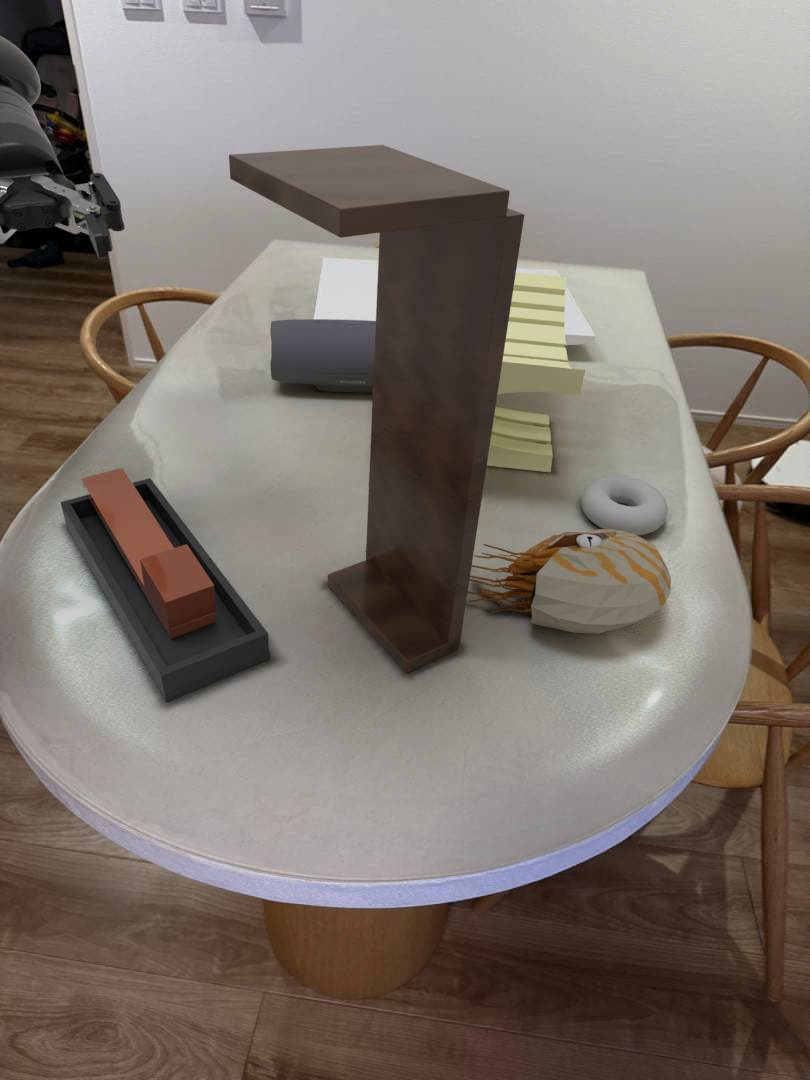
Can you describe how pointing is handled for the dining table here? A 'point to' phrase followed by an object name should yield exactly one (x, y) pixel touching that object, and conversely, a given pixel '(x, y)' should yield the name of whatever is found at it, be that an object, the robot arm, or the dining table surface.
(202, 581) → the reddish-brown long block
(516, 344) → the slatted curved stool
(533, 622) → the nautilus
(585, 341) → the board
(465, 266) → the dark brown wooden stand
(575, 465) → the dining table surface
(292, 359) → the bluetooth speaker
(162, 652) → the shallow dark tray
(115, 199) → the robot arm
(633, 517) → the donut
